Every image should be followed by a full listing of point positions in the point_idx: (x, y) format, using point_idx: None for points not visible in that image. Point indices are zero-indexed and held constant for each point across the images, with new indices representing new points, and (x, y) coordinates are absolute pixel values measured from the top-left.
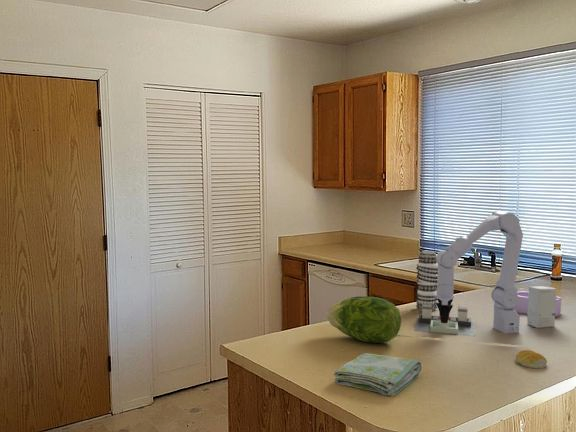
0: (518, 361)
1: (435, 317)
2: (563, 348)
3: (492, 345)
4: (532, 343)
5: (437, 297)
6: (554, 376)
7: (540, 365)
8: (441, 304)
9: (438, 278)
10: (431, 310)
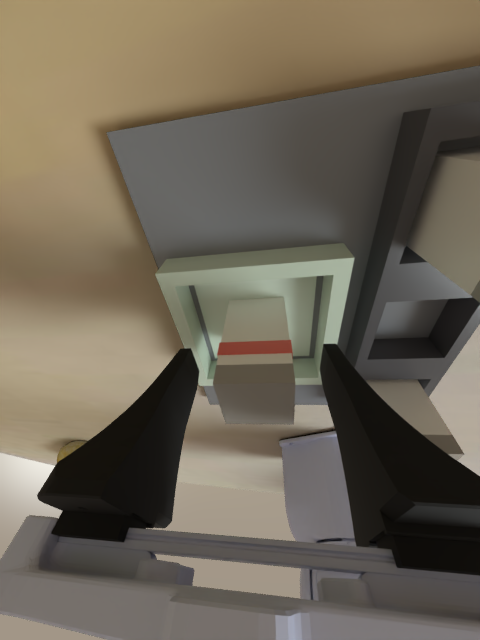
0: (63, 448)
1: (447, 279)
2: (226, 483)
3: None
4: (234, 465)
5: (151, 598)
6: None
7: None
8: (64, 509)
9: None
10: (462, 288)
